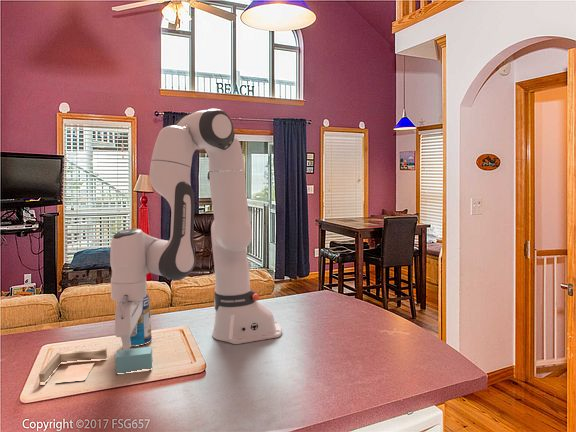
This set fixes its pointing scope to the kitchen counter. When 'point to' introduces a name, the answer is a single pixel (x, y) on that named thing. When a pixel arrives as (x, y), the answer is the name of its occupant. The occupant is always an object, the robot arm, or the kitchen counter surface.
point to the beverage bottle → (143, 325)
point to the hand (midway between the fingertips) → (130, 341)
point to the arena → (70, 357)
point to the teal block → (133, 359)
